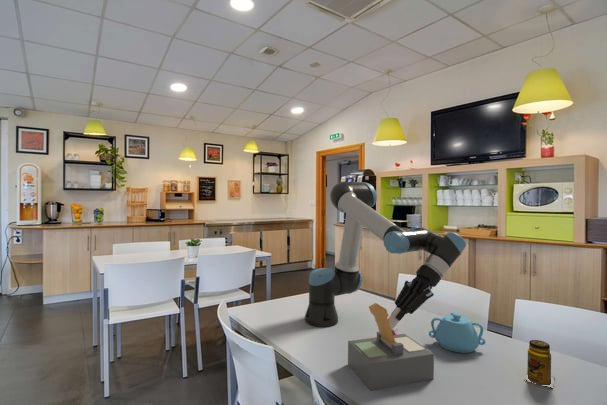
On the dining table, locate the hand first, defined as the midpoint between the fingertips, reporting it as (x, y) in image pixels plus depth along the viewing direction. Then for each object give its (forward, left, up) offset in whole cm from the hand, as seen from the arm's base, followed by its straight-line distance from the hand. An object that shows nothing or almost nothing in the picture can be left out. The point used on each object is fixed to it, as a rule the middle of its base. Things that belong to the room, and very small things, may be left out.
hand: (388, 325), depth 109 cm
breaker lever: (0, +1, -7) cm, 7 cm away
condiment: (+43, +19, -16) cm, 49 cm away
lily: (-4, +23, -16) cm, 28 cm away
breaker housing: (0, +1, -15) cm, 15 cm away
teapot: (+18, +34, -16) cm, 41 cm away
